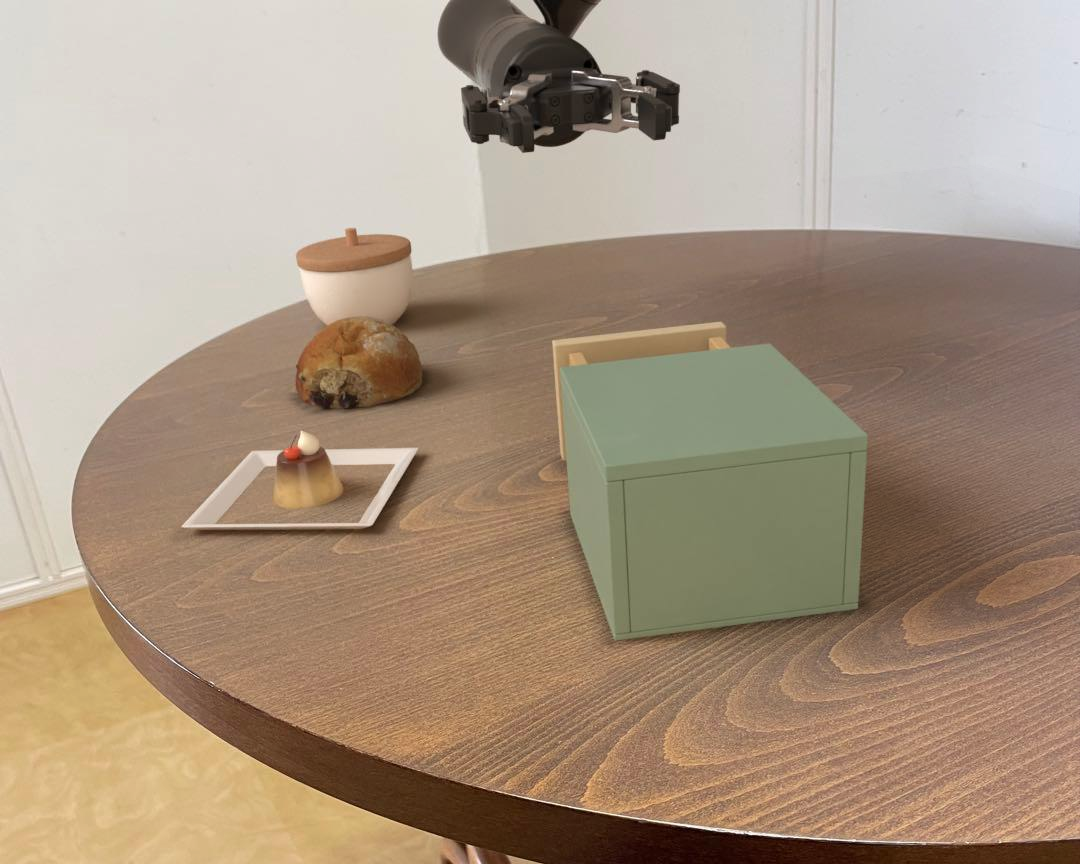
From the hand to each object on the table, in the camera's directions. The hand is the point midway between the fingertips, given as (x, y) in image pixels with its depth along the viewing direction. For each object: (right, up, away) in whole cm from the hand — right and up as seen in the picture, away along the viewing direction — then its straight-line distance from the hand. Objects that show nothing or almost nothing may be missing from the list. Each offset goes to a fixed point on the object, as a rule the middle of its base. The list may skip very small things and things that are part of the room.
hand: (595, 129), depth 70 cm
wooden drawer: (+4, -21, 0) cm, 22 cm away
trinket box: (-20, -5, +39) cm, 44 cm away
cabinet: (+5, -27, -9) cm, 29 cm away
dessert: (-18, -23, +3) cm, 30 cm away
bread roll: (-18, -14, +21) cm, 31 cm away
